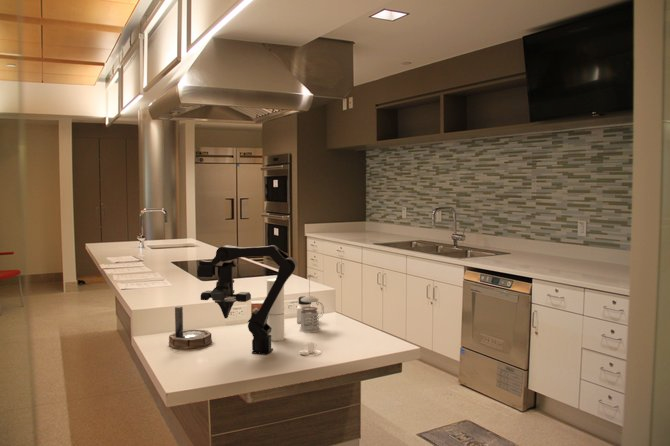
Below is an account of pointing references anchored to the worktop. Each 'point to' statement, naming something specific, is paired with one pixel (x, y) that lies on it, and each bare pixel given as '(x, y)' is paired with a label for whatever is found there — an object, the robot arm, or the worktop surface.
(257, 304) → the small box
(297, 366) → the worktop surface
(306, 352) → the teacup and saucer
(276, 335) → the cylindrical container
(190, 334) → the dial
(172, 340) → the dial housing
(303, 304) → the medicine bottle
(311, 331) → the french press
